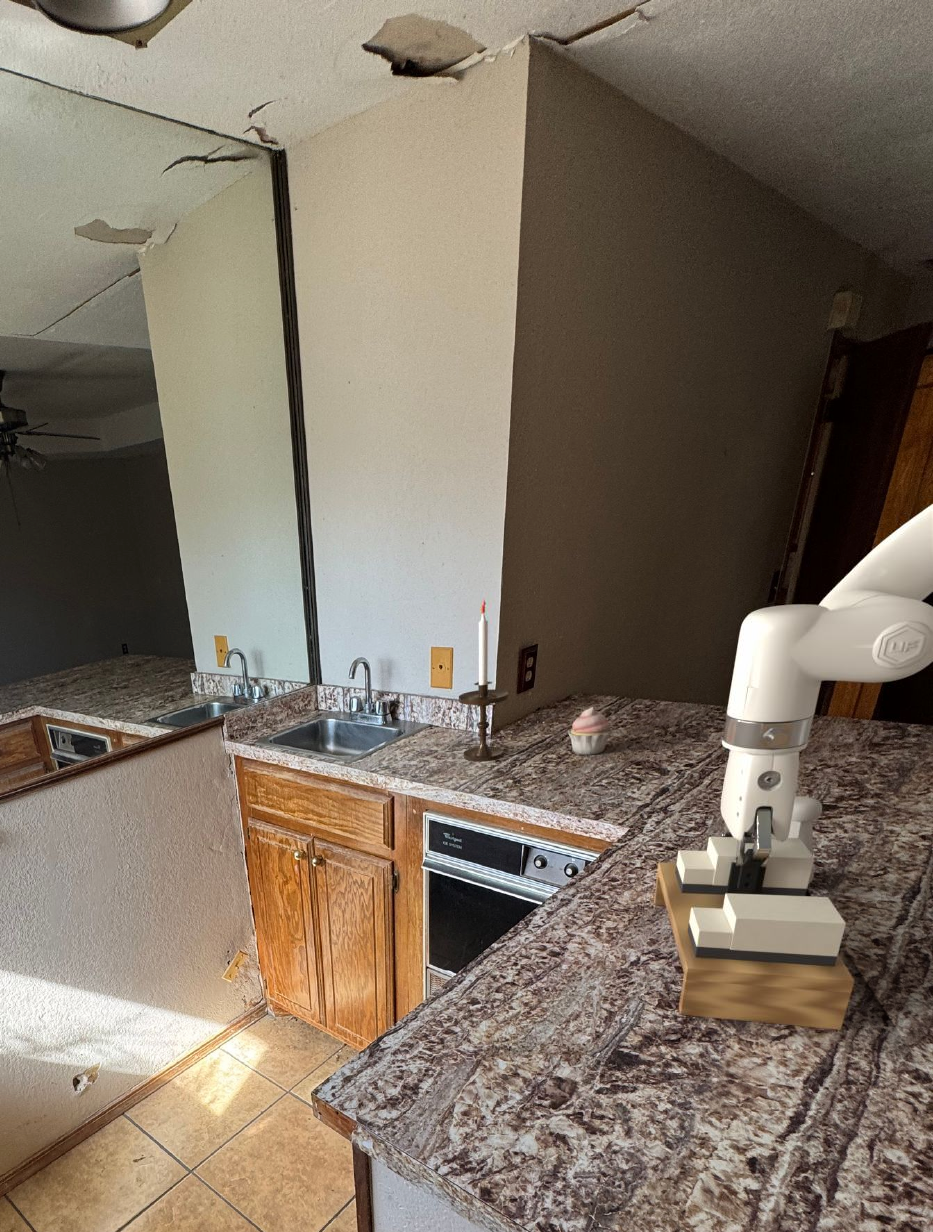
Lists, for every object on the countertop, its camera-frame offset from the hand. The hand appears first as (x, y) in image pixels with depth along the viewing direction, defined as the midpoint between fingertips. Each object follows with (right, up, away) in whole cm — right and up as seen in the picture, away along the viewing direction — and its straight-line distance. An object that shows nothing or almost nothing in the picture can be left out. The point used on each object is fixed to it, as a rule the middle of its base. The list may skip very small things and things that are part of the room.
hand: (737, 881), depth 81 cm
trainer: (0, 0, 0) cm, 0 cm away
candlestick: (-4, +31, +83) cm, 89 cm away
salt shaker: (+15, -1, +13) cm, 20 cm away
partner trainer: (-3, -7, -8) cm, 11 cm away
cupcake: (+18, +30, +76) cm, 83 cm away
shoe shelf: (0, -9, +1) cm, 9 cm away
